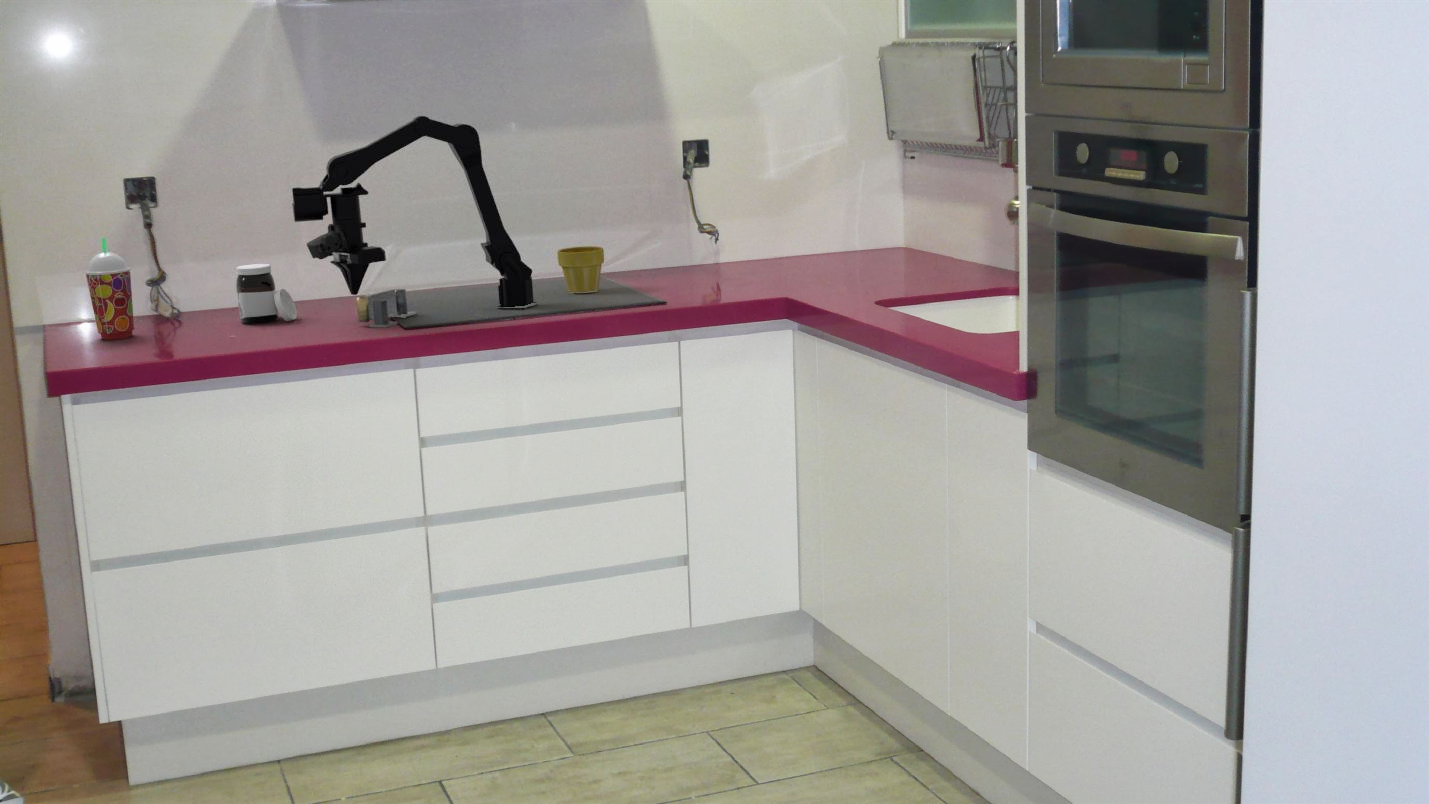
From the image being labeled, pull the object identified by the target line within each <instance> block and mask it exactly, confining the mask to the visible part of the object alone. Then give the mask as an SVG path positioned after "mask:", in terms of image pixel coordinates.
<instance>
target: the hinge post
mask: <svg viewBox="0 0 1429 804" xmlns="http://www.w3.org/2000/svg"><path fill="white" fill-rule="evenodd" d="M394 289H395V288H394ZM406 292H407V291H406V288H396V289H395V295H396V306H397V313H395V314H396V315H397V314H398V315H401V314H413V313H417V312H418V311H408V303H407V301H408V300H407V293H406ZM391 316H393V314H392V315H388V319H392V318H391Z"/></svg>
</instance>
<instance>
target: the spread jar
mask: <svg viewBox="0 0 1429 804" xmlns="http://www.w3.org/2000/svg"><path fill="white" fill-rule="evenodd" d="M271 272H272V267H271V264H267V263H256V264H255V263H252V264H244V265H239V266H236V274H237V277H236V283H235V286H236V287H235V288H236V297H237V304H238V305H237V306H238V310H239V311H238V312H239V319H240V321H241V323H242V324H245V325H262V324H267V323H268V324H269V323H273V322H275V321H277V320H278V318H279V315H280V316H281V318H282V319H283V320H284V321H286V322H291V321H294V320H296V319H297V316H298V311H297V307H296V304H295V302H294V299H293V298H292V296H291V295H290V293H289V291H287V290H286V289H285V288H280V289H278V290H276V284H275V279H274V277H273V274H271Z"/></svg>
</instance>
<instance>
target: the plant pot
mask: <svg viewBox="0 0 1429 804" xmlns="http://www.w3.org/2000/svg"><path fill="white" fill-rule="evenodd" d="M604 251H605V250H604V247H601V246H596V245H594V246H592V245H589V246H588V245H586V246H585V245H584V246H575V247H574V246H573V247H566V248H561V249H558V250H557V262H558V265H559V267H561V270H562V272H563V276H564V280H565V283H566V288H567V291H568V293H569V292H588V291H595V290H598V291H599V288H600V281H601V272H602V271H601V270H602V264H604V262H605V252H604Z"/></svg>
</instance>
